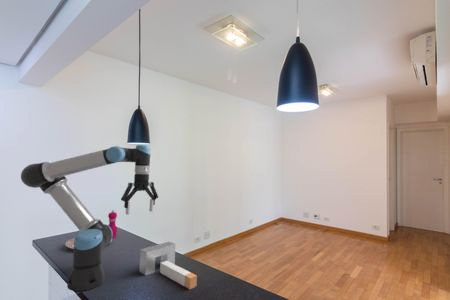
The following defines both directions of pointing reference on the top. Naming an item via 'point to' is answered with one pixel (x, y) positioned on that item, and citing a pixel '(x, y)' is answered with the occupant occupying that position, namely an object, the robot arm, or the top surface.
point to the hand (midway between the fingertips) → (139, 212)
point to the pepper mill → (113, 222)
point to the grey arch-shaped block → (150, 253)
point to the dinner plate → (72, 243)
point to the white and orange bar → (178, 274)
